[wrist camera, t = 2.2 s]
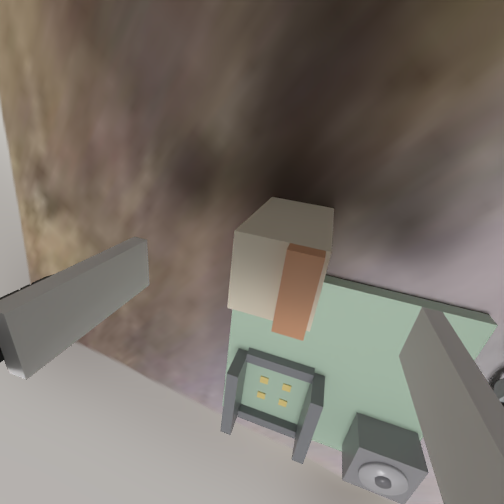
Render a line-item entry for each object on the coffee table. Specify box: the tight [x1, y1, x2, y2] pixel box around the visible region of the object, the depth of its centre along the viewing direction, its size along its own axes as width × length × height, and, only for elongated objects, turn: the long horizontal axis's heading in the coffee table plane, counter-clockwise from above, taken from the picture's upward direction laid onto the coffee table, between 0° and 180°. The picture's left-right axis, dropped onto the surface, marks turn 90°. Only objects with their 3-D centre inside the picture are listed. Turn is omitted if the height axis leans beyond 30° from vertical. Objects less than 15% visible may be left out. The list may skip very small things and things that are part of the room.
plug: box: [227, 197, 334, 341], centre depth 16 cm, size 4×4×9 cm
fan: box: [342, 412, 428, 504], centre depth 22 cm, size 5×5×4 cm
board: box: [222, 275, 498, 451], centre depth 23 cm, size 18×18×1 cm
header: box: [221, 347, 325, 464], centre depth 24 cm, size 9×8×3 cm
